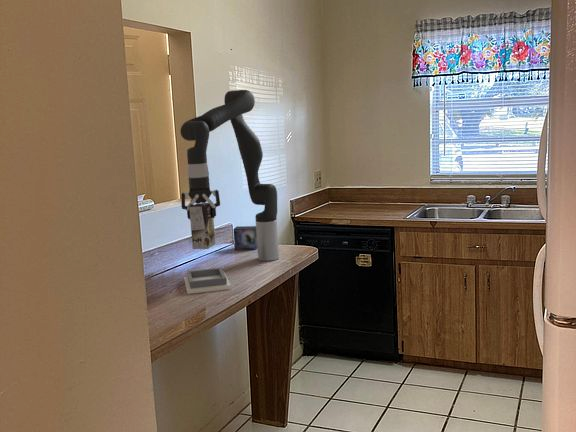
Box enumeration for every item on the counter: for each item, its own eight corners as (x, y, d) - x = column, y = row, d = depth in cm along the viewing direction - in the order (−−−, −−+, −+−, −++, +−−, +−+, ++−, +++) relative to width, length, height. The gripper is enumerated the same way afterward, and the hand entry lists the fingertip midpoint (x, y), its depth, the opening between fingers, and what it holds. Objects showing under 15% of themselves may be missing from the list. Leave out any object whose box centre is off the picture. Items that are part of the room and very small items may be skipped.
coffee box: (208, 249, 221) (205, 206, 218) (192, 249, 222) (188, 206, 220) (216, 243, 230) (213, 202, 227) (200, 244, 231) (196, 202, 229)
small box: (234, 250, 286) (232, 228, 285) (237, 247, 293) (236, 226, 291) (255, 250, 284) (254, 228, 283) (258, 247, 291) (257, 225, 289)
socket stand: (184, 280, 236) (183, 270, 235) (224, 276, 239) (224, 266, 239) (187, 293, 218) (186, 283, 217) (231, 288, 221) (230, 278, 220)
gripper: (216, 173, 227) (219, 215, 230) (178, 176, 224) (182, 219, 227) (218, 175, 220) (222, 218, 222) (179, 178, 217) (183, 222, 219)
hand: (202, 218), depth 224 cm, fingers closed on coffee box, 8 cm apart
